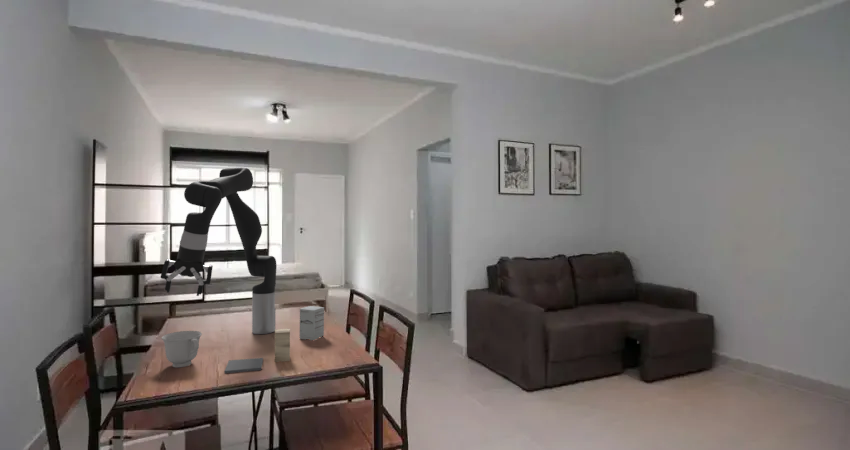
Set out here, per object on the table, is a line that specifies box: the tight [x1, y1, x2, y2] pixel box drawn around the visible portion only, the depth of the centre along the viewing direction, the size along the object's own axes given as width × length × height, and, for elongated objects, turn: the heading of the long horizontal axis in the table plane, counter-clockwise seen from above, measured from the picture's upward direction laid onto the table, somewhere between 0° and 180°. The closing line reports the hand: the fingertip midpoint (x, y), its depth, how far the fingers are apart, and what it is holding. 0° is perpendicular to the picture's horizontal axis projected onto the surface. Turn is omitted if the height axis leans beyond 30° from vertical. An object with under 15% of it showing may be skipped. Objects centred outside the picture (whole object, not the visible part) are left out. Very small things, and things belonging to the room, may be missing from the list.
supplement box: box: [298, 305, 325, 341], centre depth 183 cm, size 7×7×13 cm
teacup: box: [161, 330, 203, 368], centre depth 148 cm, size 12×15×10 cm
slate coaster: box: [224, 357, 264, 374], centre depth 147 cm, size 11×11×1 cm
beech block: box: [274, 328, 291, 363], centre depth 155 cm, size 5×5×10 cm
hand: (183, 293), depth 143 cm, fingers open, 8 cm apart
